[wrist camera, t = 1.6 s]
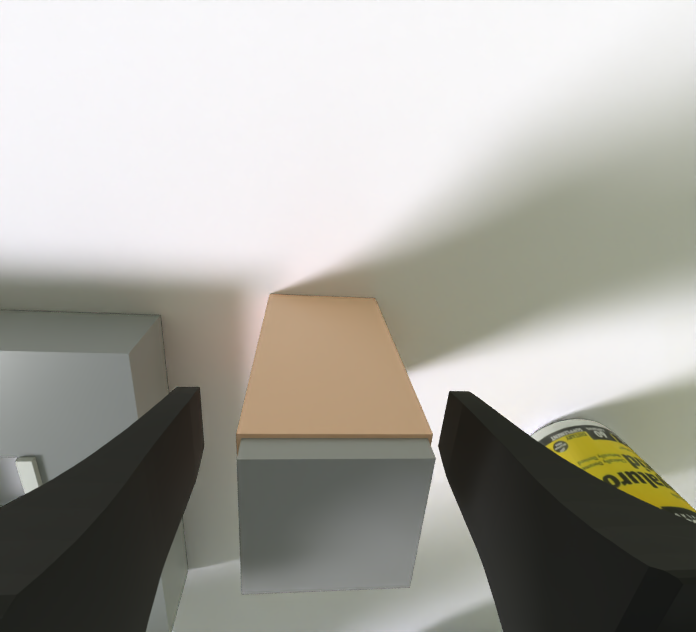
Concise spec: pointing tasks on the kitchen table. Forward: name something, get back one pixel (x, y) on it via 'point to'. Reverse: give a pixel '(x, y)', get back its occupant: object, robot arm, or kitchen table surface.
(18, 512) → the robot arm
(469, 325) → the kitchen table surface
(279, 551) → the plug
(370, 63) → the kitchen table surface
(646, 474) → the supplement bottle
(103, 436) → the socket block
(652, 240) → the kitchen table surface
